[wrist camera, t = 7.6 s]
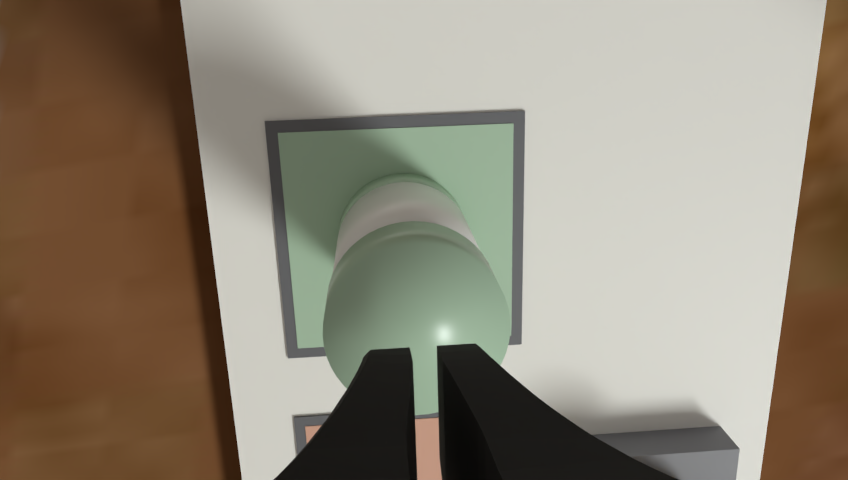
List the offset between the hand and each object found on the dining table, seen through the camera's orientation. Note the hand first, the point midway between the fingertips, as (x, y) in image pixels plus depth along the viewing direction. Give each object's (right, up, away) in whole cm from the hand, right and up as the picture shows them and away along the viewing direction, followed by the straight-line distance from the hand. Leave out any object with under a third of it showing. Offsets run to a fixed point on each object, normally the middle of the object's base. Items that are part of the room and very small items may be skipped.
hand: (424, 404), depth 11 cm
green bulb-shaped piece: (-1, +3, +8) cm, 8 cm away
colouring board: (+2, 0, +10) cm, 10 cm away
